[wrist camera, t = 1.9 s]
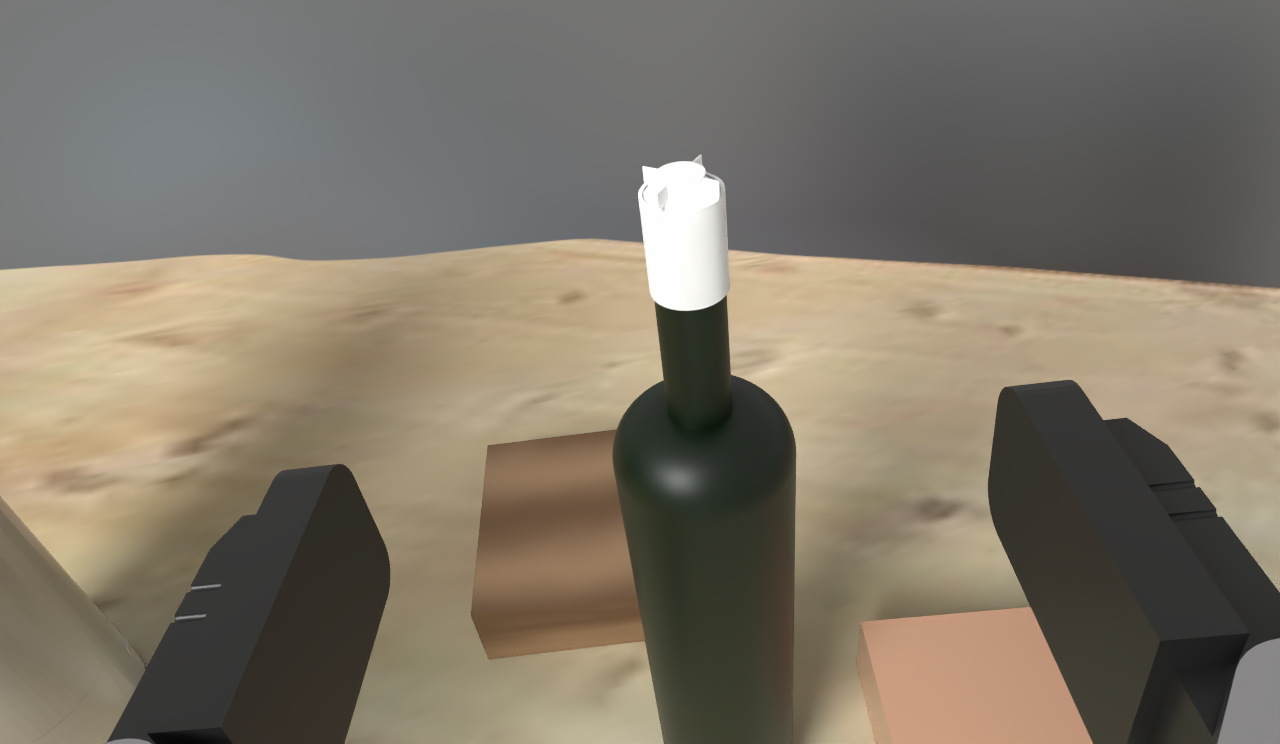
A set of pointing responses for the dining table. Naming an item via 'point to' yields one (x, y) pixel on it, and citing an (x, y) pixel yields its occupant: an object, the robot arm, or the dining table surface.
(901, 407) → the dining table surface
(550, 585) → the walnut block
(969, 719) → the terracotta block
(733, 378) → the wine bottle
